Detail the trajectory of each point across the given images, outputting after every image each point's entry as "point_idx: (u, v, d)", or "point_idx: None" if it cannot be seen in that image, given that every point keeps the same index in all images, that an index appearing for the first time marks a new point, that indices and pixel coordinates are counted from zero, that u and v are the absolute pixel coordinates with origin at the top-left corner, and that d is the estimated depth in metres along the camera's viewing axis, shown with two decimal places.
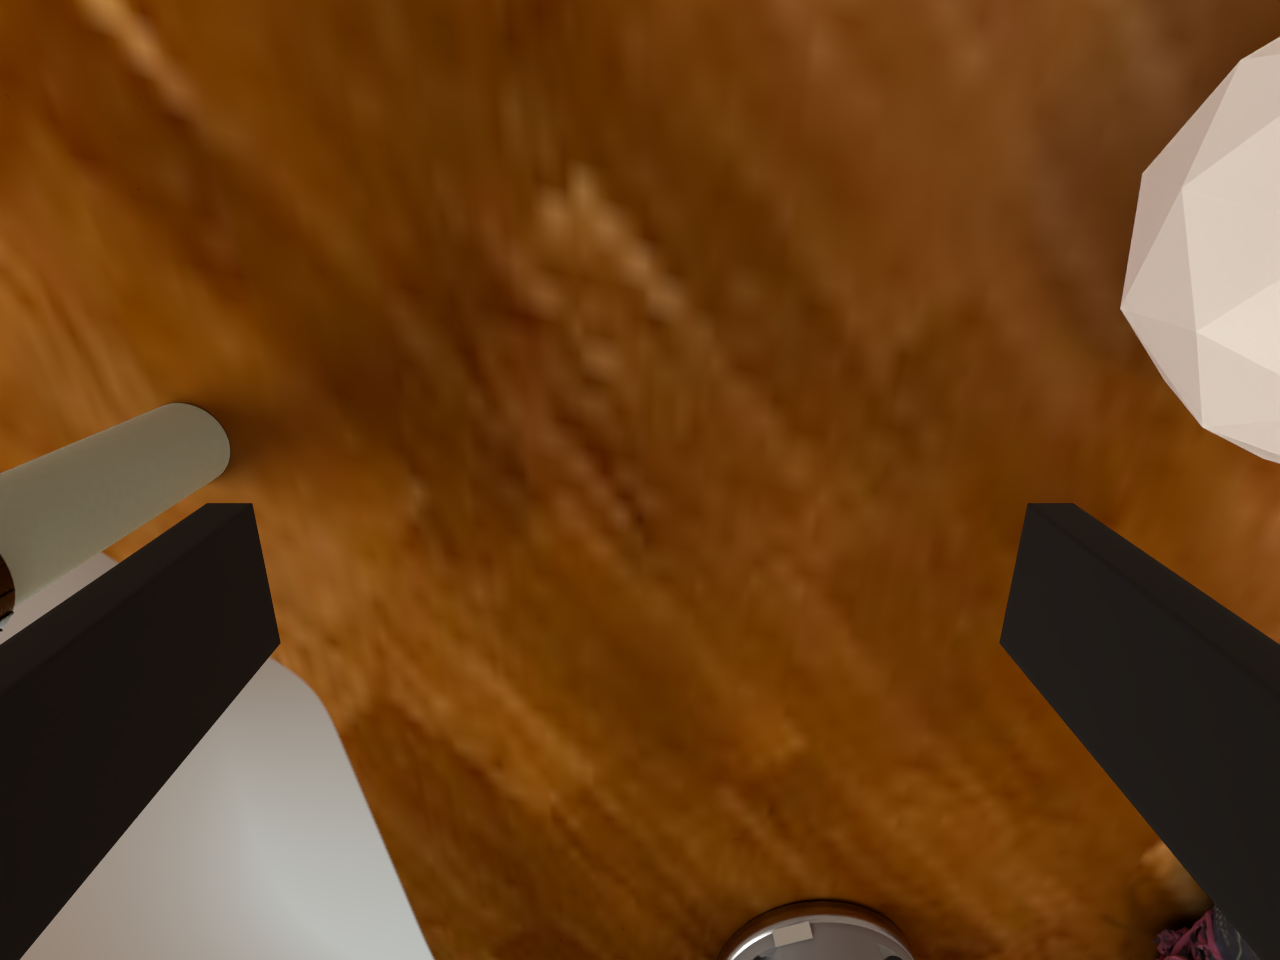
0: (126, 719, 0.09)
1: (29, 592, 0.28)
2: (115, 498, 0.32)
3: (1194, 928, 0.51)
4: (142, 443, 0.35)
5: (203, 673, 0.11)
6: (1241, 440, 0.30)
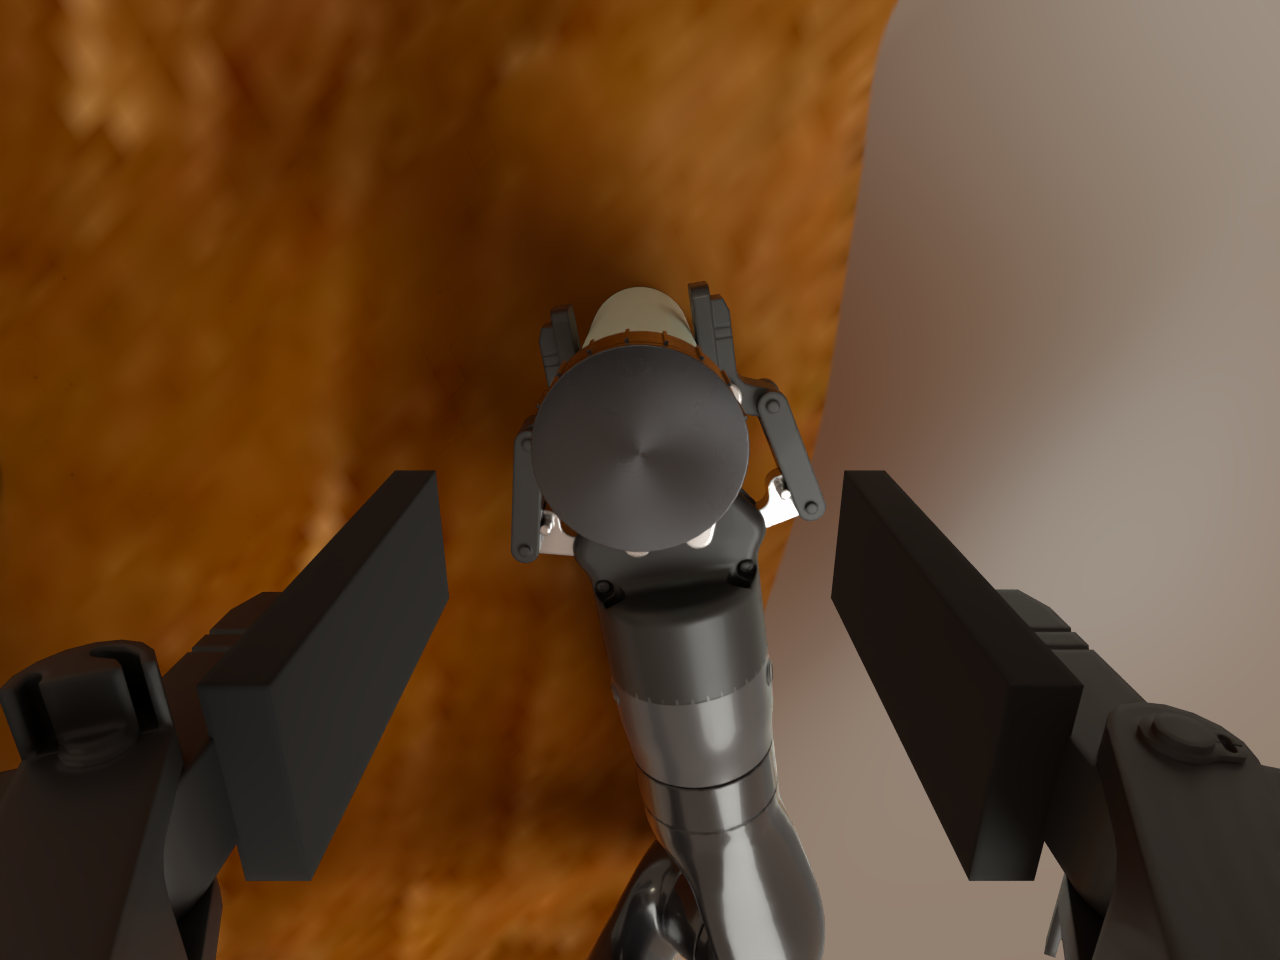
0: (378, 646, 0.11)
1: None
2: (590, 336, 0.26)
3: None
4: None
5: (413, 616, 0.12)
6: None
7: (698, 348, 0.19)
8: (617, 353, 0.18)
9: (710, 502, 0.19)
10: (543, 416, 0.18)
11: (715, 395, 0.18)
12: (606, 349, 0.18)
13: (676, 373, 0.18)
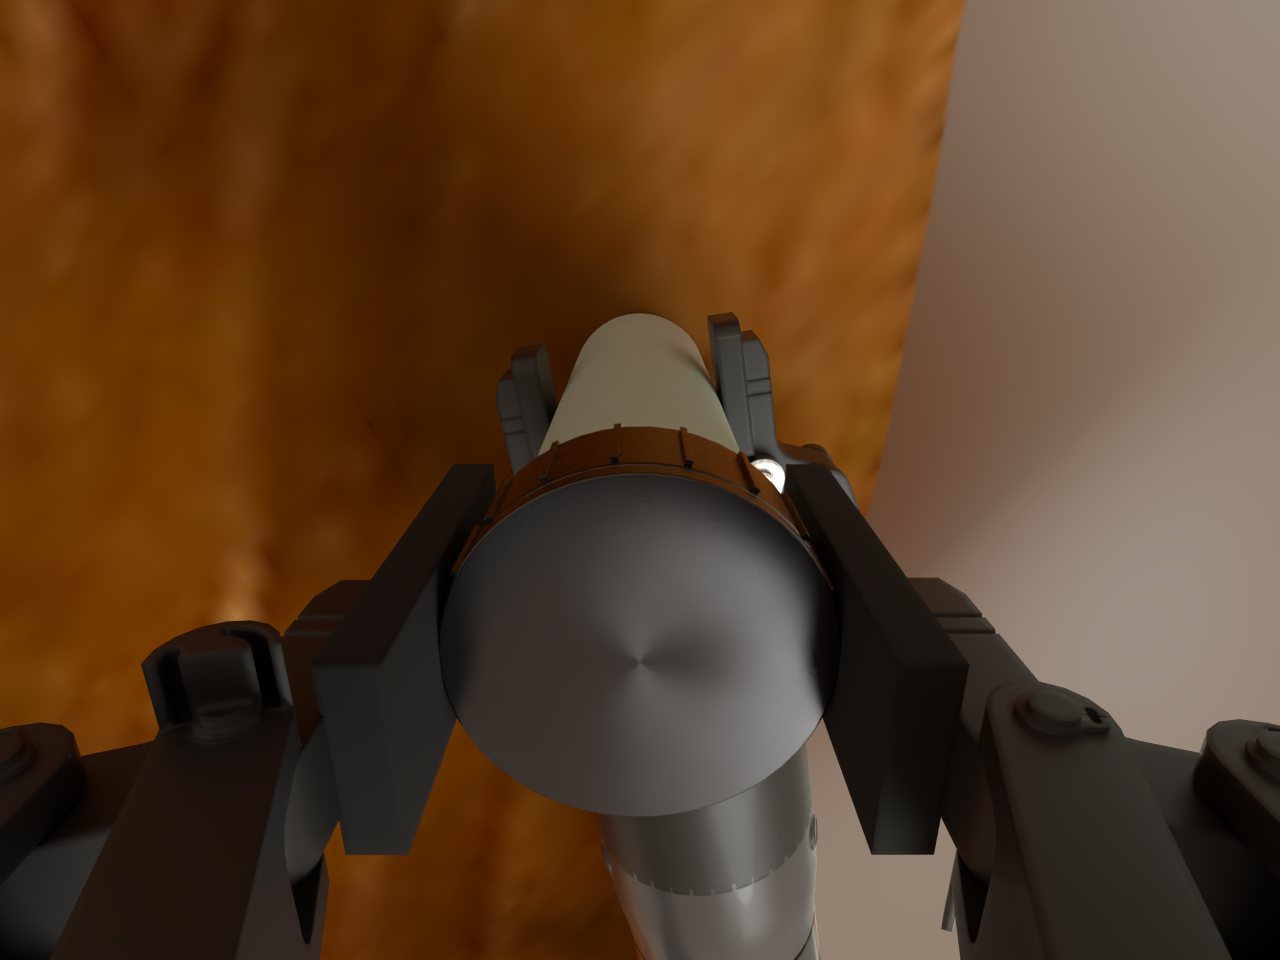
0: None
1: (641, 426, 0.13)
2: (566, 399, 0.18)
3: None
4: None
5: None
6: None
7: (744, 462, 0.11)
8: (596, 489, 0.09)
9: (766, 740, 0.11)
10: (458, 600, 0.10)
11: (782, 563, 0.10)
12: (575, 481, 0.09)
13: (709, 525, 0.09)
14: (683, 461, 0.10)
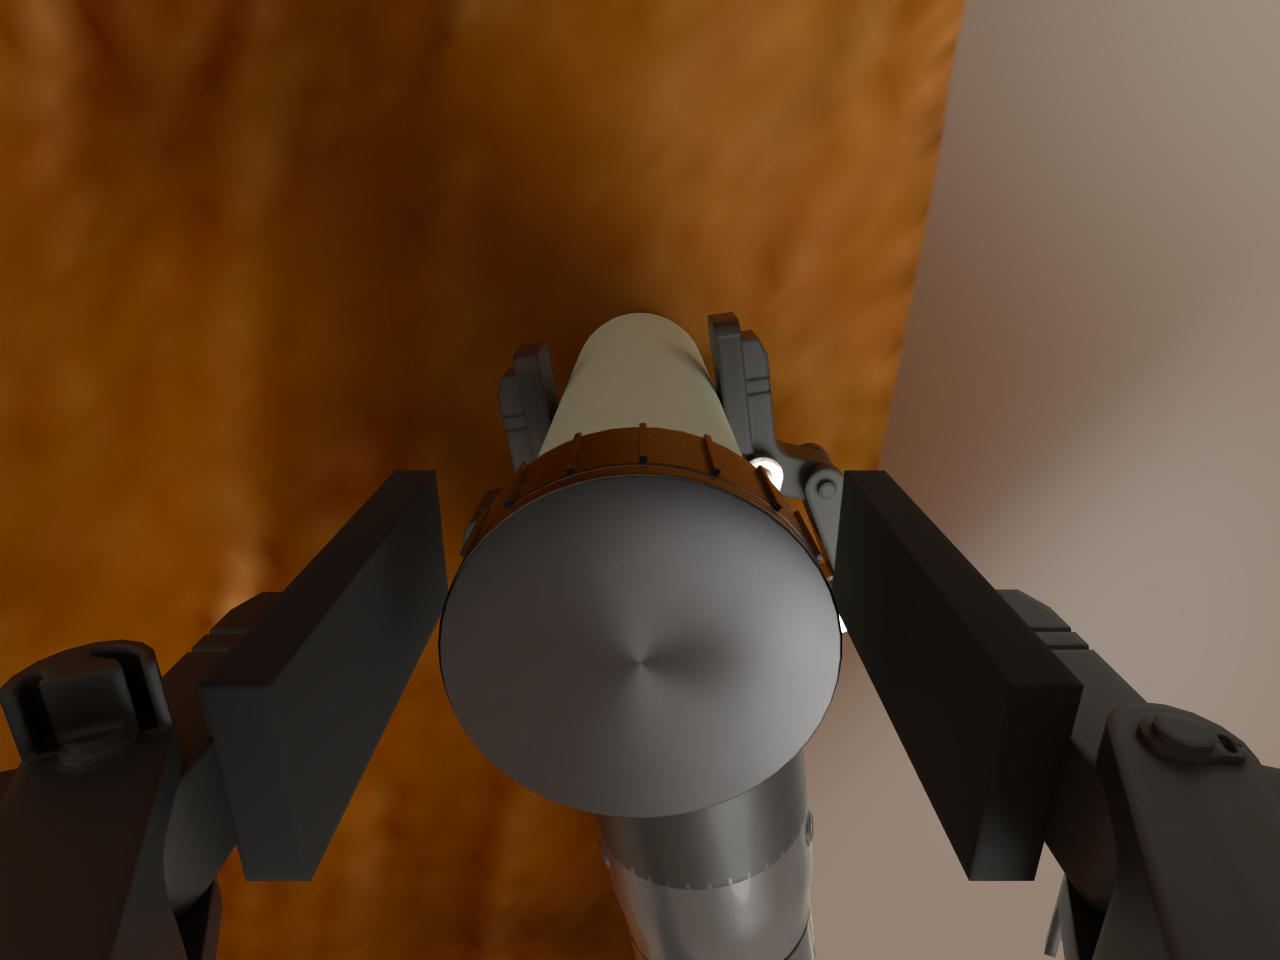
0: (379, 647, 0.11)
1: (642, 422, 0.13)
2: (568, 397, 0.18)
3: None
4: None
5: (413, 616, 0.12)
6: None
7: (513, 478, 0.11)
8: (450, 647, 0.10)
9: (779, 575, 0.10)
10: (527, 778, 0.11)
11: (570, 513, 0.09)
12: (440, 659, 0.10)
13: (509, 567, 0.10)
14: (465, 554, 0.10)
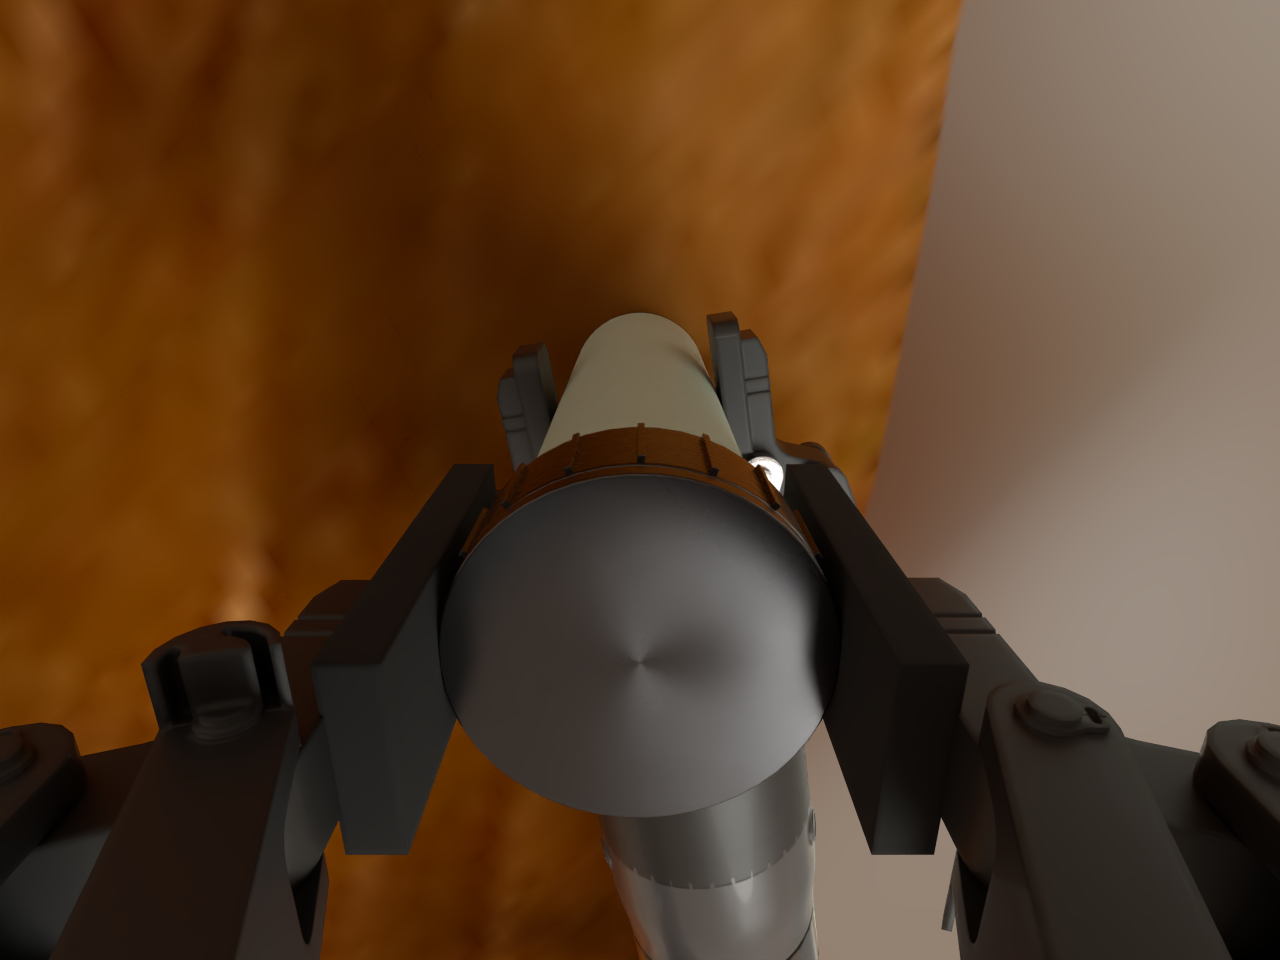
0: None
1: (641, 422, 0.13)
2: (567, 397, 0.18)
3: None
4: None
5: None
6: None
7: (512, 479, 0.11)
8: (449, 648, 0.10)
9: (778, 574, 0.10)
10: (527, 779, 0.11)
11: (568, 514, 0.09)
12: (440, 660, 0.10)
13: (508, 568, 0.10)
14: (464, 555, 0.10)
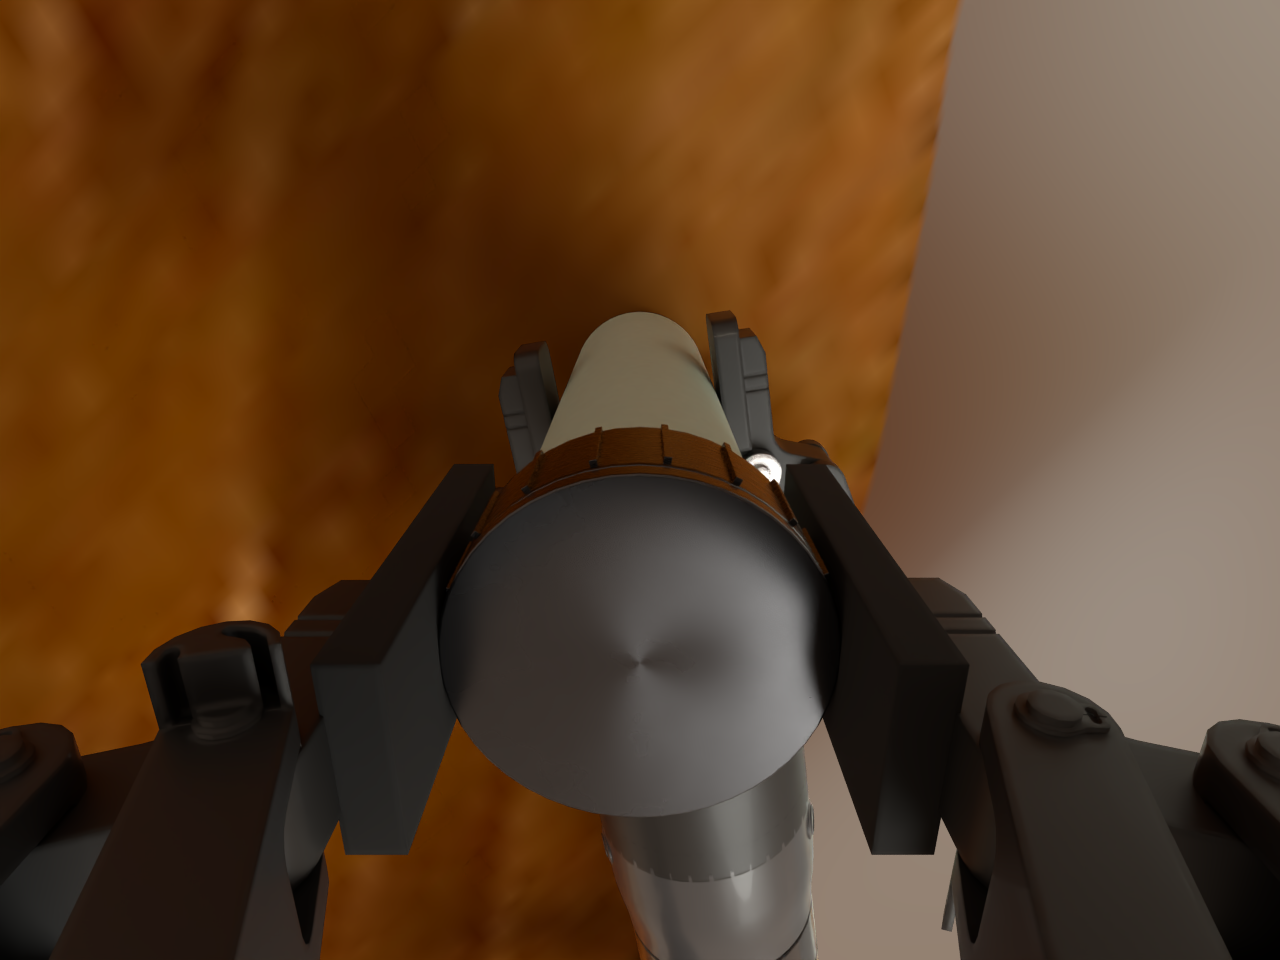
0: None
1: (641, 418, 0.13)
2: (568, 394, 0.18)
3: None
4: None
5: None
6: None
7: None
8: (573, 799, 0.11)
9: (579, 520, 0.09)
10: (736, 787, 0.11)
11: (467, 675, 0.10)
12: (586, 808, 0.11)
13: (507, 734, 0.11)
14: None
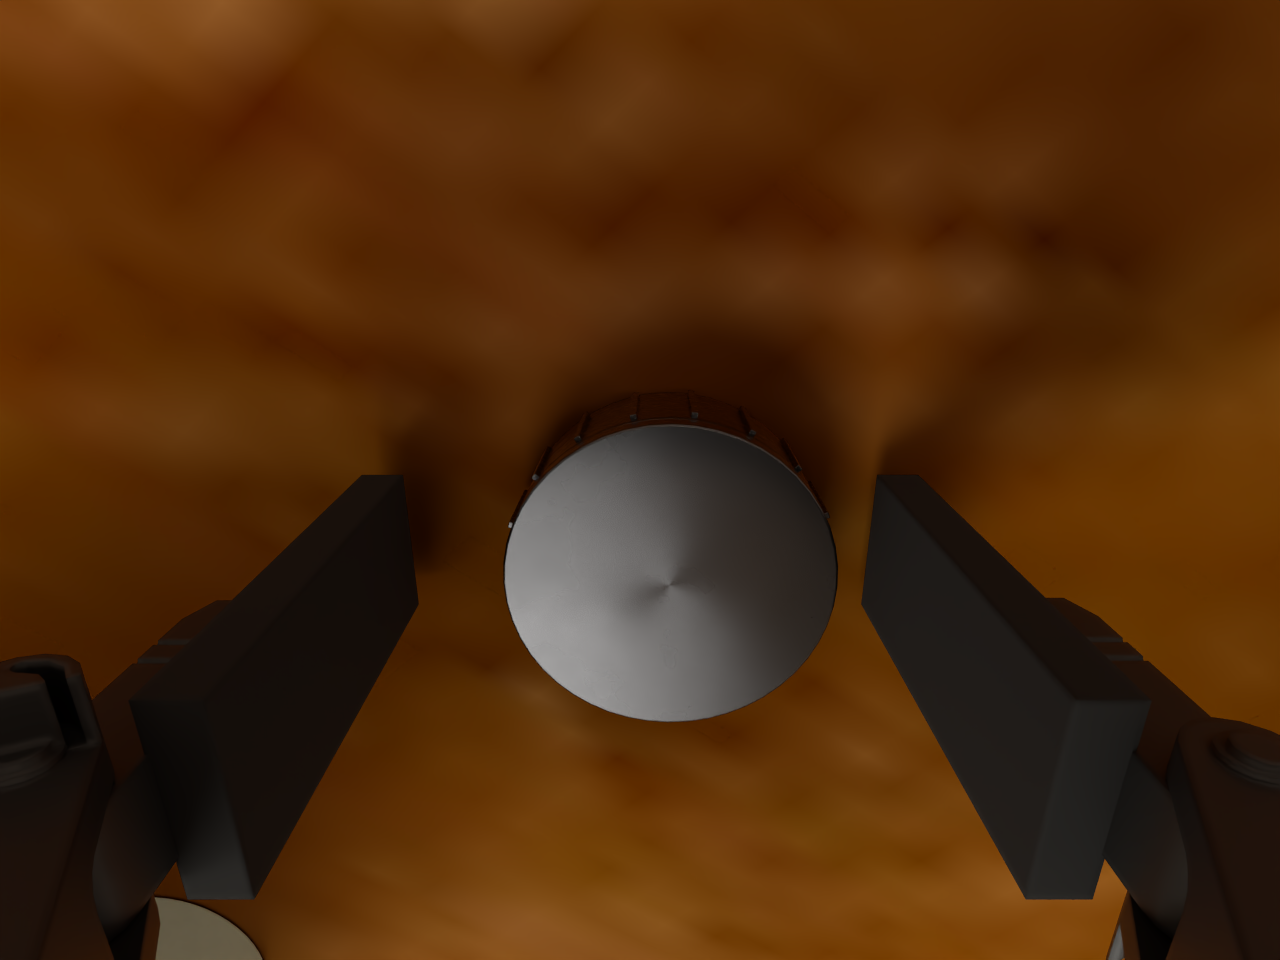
0: (334, 656, 0.10)
1: None
2: None
3: None
4: None
5: (376, 623, 0.12)
6: None
7: None
8: (612, 705, 0.13)
9: (622, 463, 0.12)
10: (749, 696, 0.13)
11: (526, 594, 0.12)
12: (622, 713, 0.13)
13: (558, 646, 0.13)
14: None
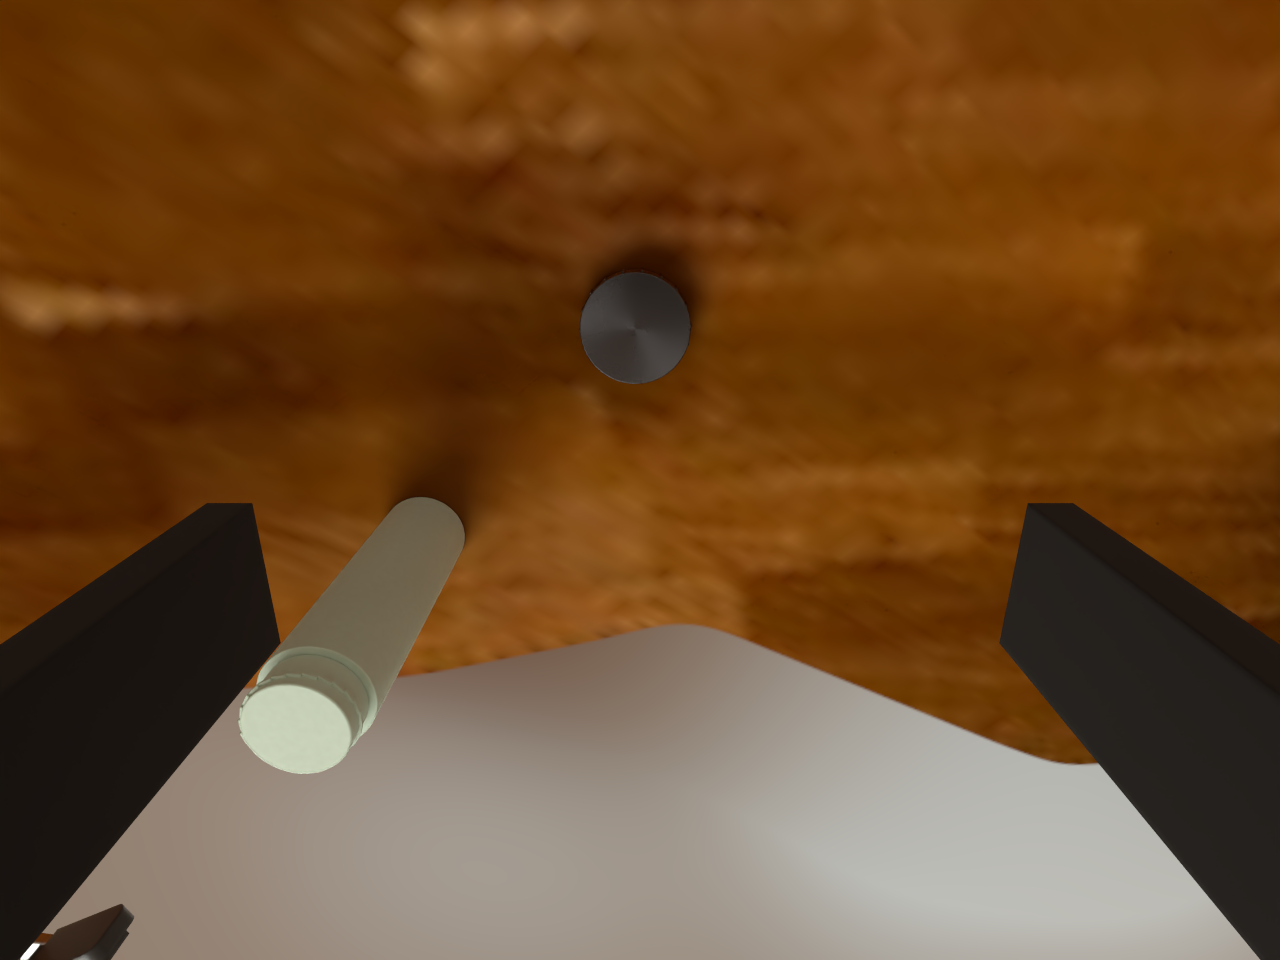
0: (126, 719, 0.09)
1: (382, 666, 0.30)
2: (386, 576, 0.34)
3: None
4: (378, 539, 0.37)
5: (203, 673, 0.11)
6: None
7: None
8: (616, 377, 0.38)
9: (619, 285, 0.36)
10: (663, 372, 0.38)
11: (587, 333, 0.37)
12: None
13: (597, 353, 0.37)
14: None
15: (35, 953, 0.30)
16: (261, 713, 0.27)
